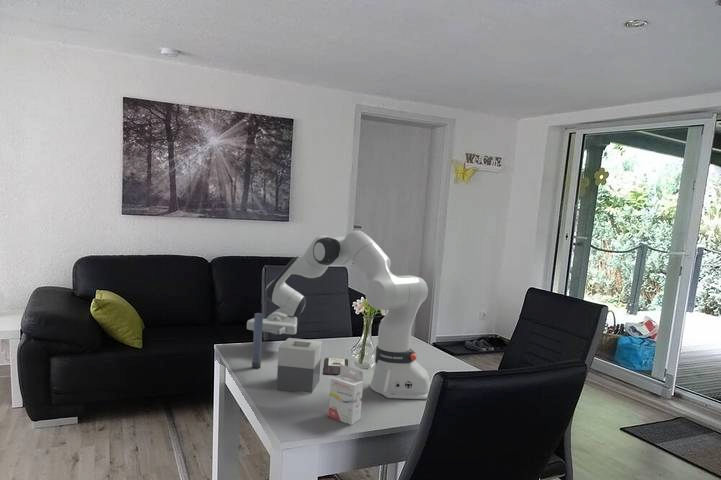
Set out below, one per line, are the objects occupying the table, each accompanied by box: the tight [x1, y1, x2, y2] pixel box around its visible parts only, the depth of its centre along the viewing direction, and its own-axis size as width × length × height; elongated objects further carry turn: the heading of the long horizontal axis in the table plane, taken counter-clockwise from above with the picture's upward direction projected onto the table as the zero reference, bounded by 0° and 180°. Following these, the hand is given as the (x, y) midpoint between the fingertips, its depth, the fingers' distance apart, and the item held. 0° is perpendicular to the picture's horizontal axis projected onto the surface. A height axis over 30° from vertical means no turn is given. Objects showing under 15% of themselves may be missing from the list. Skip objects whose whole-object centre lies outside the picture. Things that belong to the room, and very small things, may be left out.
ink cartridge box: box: [327, 365, 364, 426], centre depth 141 cm, size 9×5×15 cm, turn 58°
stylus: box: [251, 312, 264, 370], centre depth 179 cm, size 3×3×20 cm
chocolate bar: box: [323, 357, 349, 376], centre depth 186 cm, size 9×1×18 cm
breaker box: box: [275, 337, 323, 394], centre depth 165 cm, size 12×12×14 cm
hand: (266, 330), depth 191 cm, fingers open, 8 cm apart
